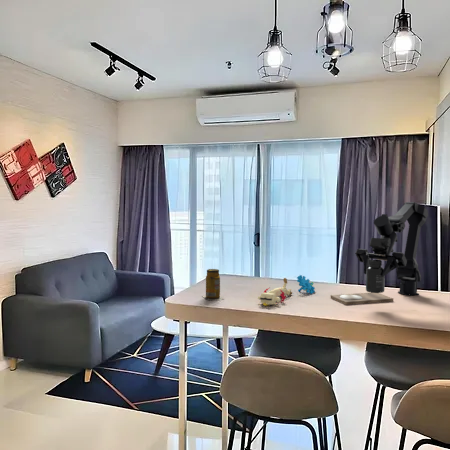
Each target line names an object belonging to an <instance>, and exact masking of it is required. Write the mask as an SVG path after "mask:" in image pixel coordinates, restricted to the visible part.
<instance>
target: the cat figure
mask: <svg viewBox="0 0 450 450" xmlns="http://www.w3.org/2000/svg"><path fill="white" fill-rule="evenodd" d="M287 284H288V278H286V277H283V285H282V287H275V288H274V289H273V288H272V290H270V291H268V290H269V289H270V287H268V288H266V289H265V290H264V291H263V292H262V293H261V294H260V295H259V296H257V299H258V301H259V300H260V303H261V304H262V305H263V306H269V305H277V303H282V302H285V300H286V299H287V297H286V296H292V295H293V291H292V289H290V288H288V289H287V286H288V285H287ZM267 291H268V292H267Z"/></svg>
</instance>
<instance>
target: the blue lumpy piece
mask: <svg viewBox="0 0 450 450" xmlns="http://www.w3.org/2000/svg"><path fill="white" fill-rule="evenodd" d="M306 278H307V277H306V276H305V275H303V274H302V275H301V274H299V276H296V281H297V283H298V286H300V288H299V289H298V290H297V292H298V293H299V292H301V291H305V292H306V293H307V294H310V295H313V294H314V293H315V292H316V290H315V289H316V288H315V286H314V282H313V281H311V280H310V278H307V279H306ZM310 281H311V282H310Z"/></svg>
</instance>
